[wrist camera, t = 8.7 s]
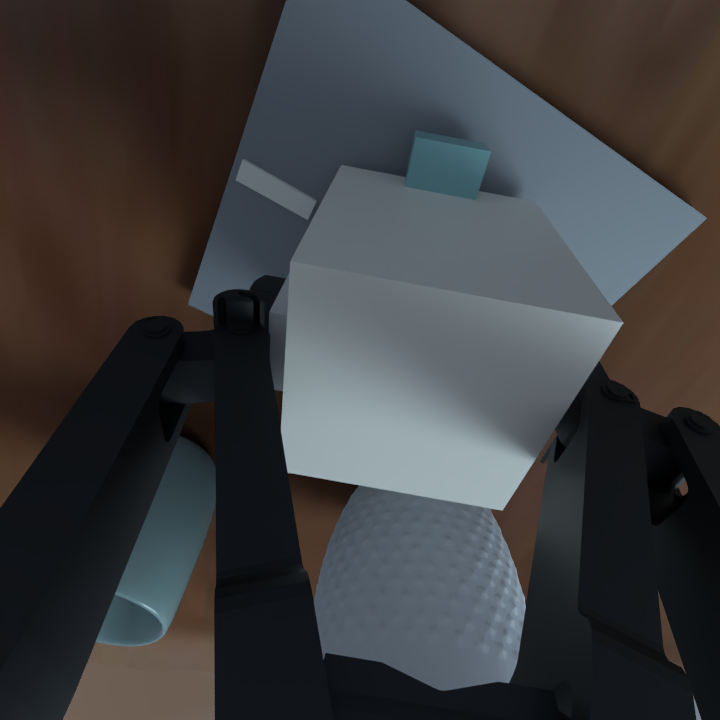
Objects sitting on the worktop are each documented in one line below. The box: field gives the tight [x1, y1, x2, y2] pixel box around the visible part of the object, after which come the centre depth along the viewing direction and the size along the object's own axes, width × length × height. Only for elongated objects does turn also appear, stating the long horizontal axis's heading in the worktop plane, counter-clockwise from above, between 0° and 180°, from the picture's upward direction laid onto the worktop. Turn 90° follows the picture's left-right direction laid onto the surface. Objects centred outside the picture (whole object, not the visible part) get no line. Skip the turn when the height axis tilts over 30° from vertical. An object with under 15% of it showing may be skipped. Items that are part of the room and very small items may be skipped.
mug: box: [314, 485, 526, 691], centre depth 24 cm, size 15×11×13 cm
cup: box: [96, 435, 216, 646], centre depth 25 cm, size 8×8×10 cm
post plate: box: [188, 0, 707, 316], centre depth 16 cm, size 16×14×7 cm
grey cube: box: [281, 130, 623, 510], centre depth 14 cm, size 7×10×8 cm
